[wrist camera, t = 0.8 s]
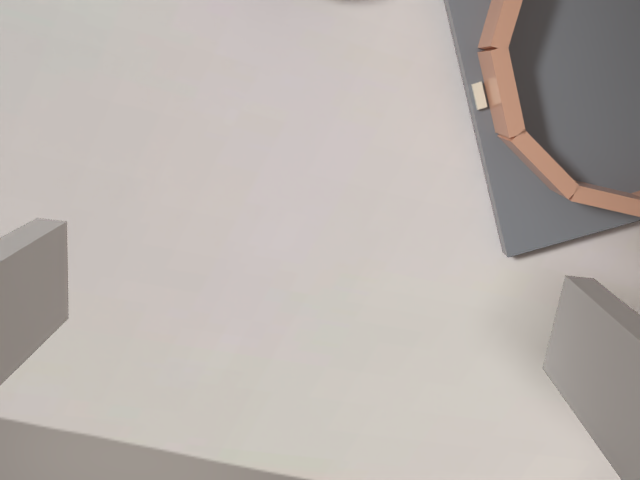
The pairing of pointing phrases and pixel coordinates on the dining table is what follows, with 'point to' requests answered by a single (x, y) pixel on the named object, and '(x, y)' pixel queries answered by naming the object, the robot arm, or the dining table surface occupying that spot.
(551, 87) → the socket
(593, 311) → the robot arm
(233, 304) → the dining table surface
